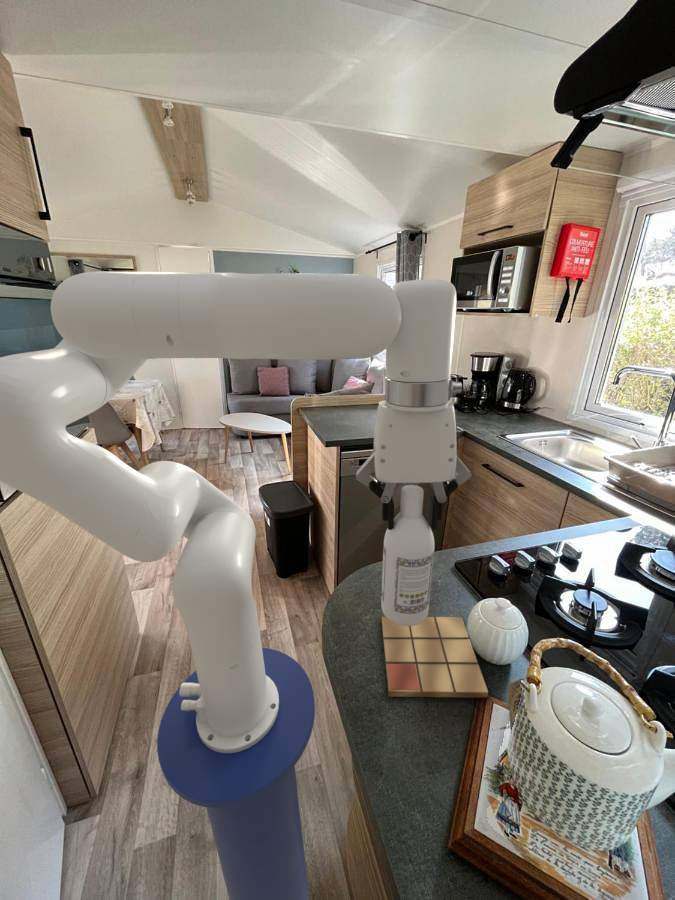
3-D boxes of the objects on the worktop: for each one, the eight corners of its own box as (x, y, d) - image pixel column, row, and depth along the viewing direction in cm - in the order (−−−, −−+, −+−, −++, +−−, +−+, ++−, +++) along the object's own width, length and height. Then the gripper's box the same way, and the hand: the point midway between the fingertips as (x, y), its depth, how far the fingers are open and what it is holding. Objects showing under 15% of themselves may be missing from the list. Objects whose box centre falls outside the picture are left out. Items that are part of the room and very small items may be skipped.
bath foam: (438, 614, 56) (451, 492, 49) (404, 636, 52) (413, 507, 45) (404, 587, 61) (412, 474, 54) (371, 606, 57) (375, 486, 50)
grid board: (388, 696, 58) (388, 690, 58) (381, 621, 72) (381, 616, 72) (487, 697, 58) (488, 691, 57) (461, 621, 72) (461, 616, 71)
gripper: (478, 385, 49) (465, 510, 55) (346, 388, 49) (348, 511, 56) (500, 398, 42) (482, 539, 48) (345, 401, 42) (348, 540, 49)
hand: (410, 523), depth 52 cm, fingers closed on bath foam, 5 cm apart
